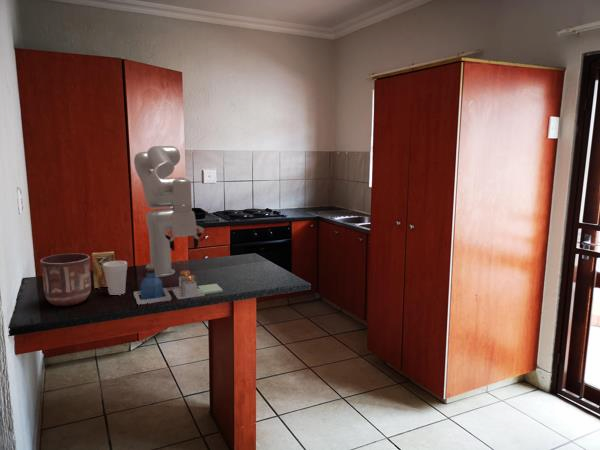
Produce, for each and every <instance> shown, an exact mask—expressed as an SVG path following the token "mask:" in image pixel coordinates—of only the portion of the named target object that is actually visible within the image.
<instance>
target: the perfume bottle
mask: <svg viewBox="0 0 600 450" xmlns="http://www.w3.org/2000/svg"><path fill="white" fill-rule="evenodd" d="M154 271H155V269H148V268H146V277H144V278H143V280H142V282H141V284H140V291H141V296H140V300H141V299H149V298H156V297H164V293H163V288H164V287H163V281H162V279H161V277H158V276H155V272H154Z"/></svg>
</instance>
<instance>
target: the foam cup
mask: <svg viewBox="0 0 600 450" xmlns="http://www.w3.org/2000/svg"><path fill="white" fill-rule="evenodd" d="M103 271H104V273H105V278H106V283H107V287H108V288H107V291H108V295H109V294H110V295H119V296H122V295H121V294H123V295H125V294H126V285H127V284H126V283H127V271H128V262H127V261H125V260H115V261H111V262H106V263H104V264H103ZM124 293H125V294H124ZM110 295H109V296H110Z"/></svg>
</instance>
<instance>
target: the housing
mask: <svg viewBox="0 0 600 450" xmlns="http://www.w3.org/2000/svg"><path fill="white" fill-rule="evenodd" d="M197 286H198V284H197V282H196V281H195V280H194V279H193V283H189V284H186V280H185V279H182V275H180V276H178V286H173V287H172V286H171V287H163V296H162V297H156V298H149V299H141V297H140V296H139V295H141V290H139V291H137V290H136V291H133V297H134V299H136V300H135V301H136V305H137V304H138V306H139V305H140V304H141V305H146V304H147V303H148V304H154V303H161V302H167V301H168V302H169V301H172V296H171V294H170V292H172V293H173V295H174V296H175V297H176V299H177V300H184V299H190V298H198V297H199V298H200V297H204V296H205V295H206V294H204V293H203V291H200V292H202V293H199V292H198V291H197V290H198V288H199V287H197ZM199 289H200V288H199ZM200 290H201V289H200Z"/></svg>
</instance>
